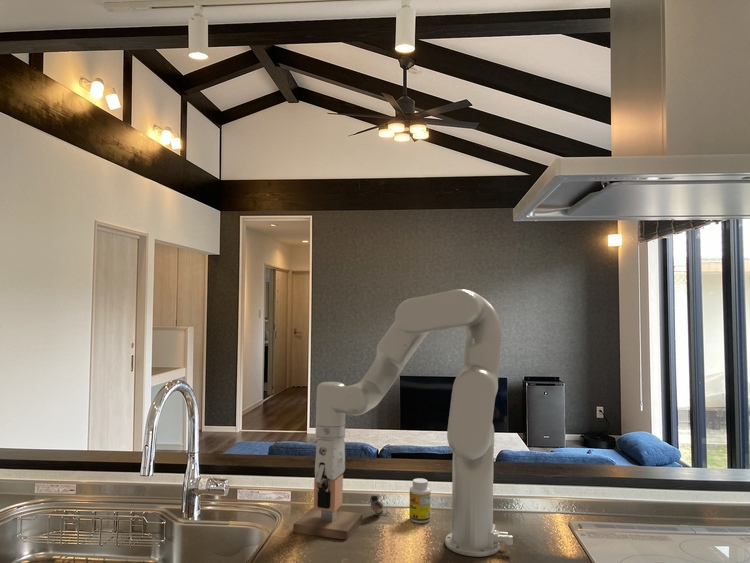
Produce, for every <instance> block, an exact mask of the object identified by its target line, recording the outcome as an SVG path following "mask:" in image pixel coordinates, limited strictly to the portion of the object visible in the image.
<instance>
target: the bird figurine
mask: <svg viewBox="0 0 750 563" xmlns="http://www.w3.org/2000/svg"><path fill="white" fill-rule="evenodd" d="M369 502H370V509H371V511H372V514H373V515H375V516H384V517H387V516H388V515H391V513H390V511H388V510H385V509H384V503H383V501H382V500H381V499H379V496H378V495H371V496H370V497H369Z"/></svg>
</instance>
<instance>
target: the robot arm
mask: <svg viewBox="0 0 750 563" xmlns="http://www.w3.org/2000/svg"><path fill="white" fill-rule="evenodd" d="M460 327H464V329H465V334H466V335H465V341H464V347H463V348H464V350H463V351H464V352H463V360H462V366H461V370H460V372H459V373H458V374H457V376H456V377H455V379H454V382H453V386H452V391H451V398H450V407H449V416H448V423H447V431H446V432H447V433H446V438H447V444H448V447H449V448H450V450H451V451H452V476H451V477H452V479H451V480H452V483H451V484H452V485H451V486H452V487H451V488H452V489H451V491H452V492H451V493H452V494H451V498H452V499H451V532H450V533H448V534H447V535H446V537H445V539H444V542H445V547H447V549H448V550H449V551H451V552H453V553H456V554H458V555H462V556H467V557H477V558H479V557H481V558H482V557H488V556H492V555H494V554H495V555H496V553H498V551H500V549H501V548H500V545H501V544H504V545H507V546H508V545H509V546H513V543H514V542H513V540H514V539H513V538H514V537H513V535H509V532H507V531H499V530H498V529H496V524H495V523H494V454H495V453H494V450H495V426H494V423H493V420H494V412H495V402H496V397H497V394H498V390H499V372H500V370H499V369H500V361H501V351H502V350H501V349H502V338H503V337H502V336H503V334H502V332H503V330H502V324H501V320H500V317H499V315H498V313H497V311H496V310H495V308H494V306H493V305H492V304H491V303H490V302H489V301H488V300H486V299H485V298H484V297H482V296H481V295H480V294H478V293H476V292H474V291H473V290H469V289H465V288H464V289H463V288H459V289H458V288H457V289H451V290H447V291H442V292H437V293H432V294H426V295H423V296H417V297H412V298H407V299H406V300H403V301H402V302H401V303H399V305H398V306H397V308H396V310H395V314H394V321H393V323H392V324H391V326H390V327H389V328H388V329H387V331H386V332H385V334H384V335H383V337H382V338H381V339H380V341H379V342H378V343H377V347H376V355H375V359H374V361H373V362H372V364H371V366H370V368H369V369H368V371H366V373H365V375H364V376H363V377H362V378H361V379H360V381H359V382H357V383H354V384H351V385H345V384H344V383H342V382H341V381H340V382H338V381H324V382H323V381H322V382H320V383H318V385H317V388H316V403H315V404H316V405H315V406H316V408H315V436H314V437H315V438H316V439H317V440H316V449H315V450H316V451H315V463H314V465H315V466H314V476H315V477H316V484H317V487H318V488H317V491H318V501H317V506H318V507H319V508H327V509H329V508H330V493H331V492H329V488H330V480H331V481H333V480H335V479H336V478H337V477H339V476H340V475H341V474H344V472H345V470H346V445H345V444H346V443H345V438H346V415H349V416H356V417H357V416H361V415H364V414H366V413H367V412H369V411H370V410H372V409H374V408H375V407H377V406H378V405H379V404H380V402H381V401H382V400H383V398H385V396H386V394H387V393H388V391H389V390H390V389H391V387H392V386H393V385H394V383H395V382H396V380H397V379H398V377H399V375H400V374H401V372H402V371H403V370H404V368H405V366H406V364H408V362H409V361H410V359H411V358H412V356H413V355H414V353H415V352H416V351H417V349H418V348H419V347H420V345H421V344H422V342H423V341H424V340H425V338H427V336H428V335H429V333H432V332H437V331H444V330H447V329H452V328H460ZM324 476H327V478H328V479H325V478H323V477H324ZM315 477H314V478H315ZM323 481H327V484H326V485H325V483H323Z"/></svg>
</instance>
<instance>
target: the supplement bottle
mask: <svg viewBox="0 0 750 563" xmlns="http://www.w3.org/2000/svg"><path fill="white" fill-rule="evenodd" d="M431 492H432V490H431V488H430V487H429V482H428V480H427V479H425V478H414V479H412V486H411V487H410V488H409V505H408V506H409V514H408V515H409V517H408V518H409V520H410V521H411V522H414V523H416V524H426V523H428V522H430V520H431V515H432V514H431V507H432V506H431V504H432V503H431V501H432V494H431Z"/></svg>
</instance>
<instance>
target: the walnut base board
mask: <svg viewBox="0 0 750 563" xmlns="http://www.w3.org/2000/svg"><path fill="white" fill-rule="evenodd" d="M362 523H363V513H358V512H352V511H343V510H337V517H336V518H335V519H334V520H333V521H324V520H321V510H317V509H314V507H312V508H311V507H310V509H309V510H308V511H306V512H305V514H303V515H302V516H301V517H300V518H298V520H296V521H295V522H294V523H293V525H292V527H293V529H292V530H293V532H292V533H296V534H304V535H312V536H317V537H324V538H333V539H338V540H348V539H349V538H350V537H351V536H352V534H354V533H355V531H356V530H357V528H358V527H359V526H360V525H361V524H362Z"/></svg>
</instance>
